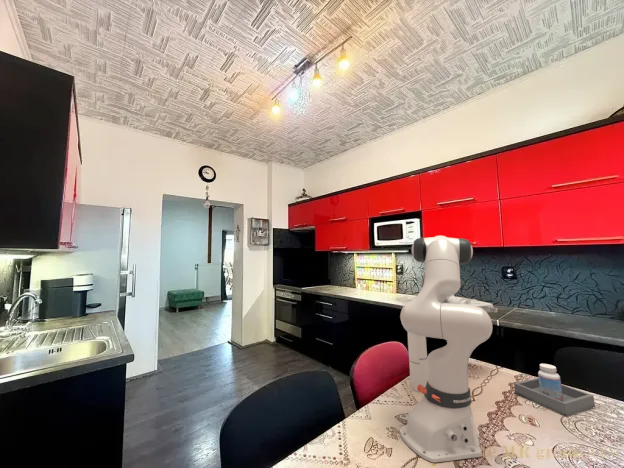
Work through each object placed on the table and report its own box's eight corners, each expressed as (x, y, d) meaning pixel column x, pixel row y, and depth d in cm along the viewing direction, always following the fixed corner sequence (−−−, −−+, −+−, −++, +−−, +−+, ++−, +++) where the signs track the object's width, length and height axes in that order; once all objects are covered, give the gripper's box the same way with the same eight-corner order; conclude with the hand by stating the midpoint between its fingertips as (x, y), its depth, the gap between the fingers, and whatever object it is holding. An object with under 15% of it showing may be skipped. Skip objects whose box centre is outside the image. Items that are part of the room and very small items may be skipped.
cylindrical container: (432, 392, 102) (427, 327, 105) (414, 392, 102) (410, 328, 105) (424, 383, 109) (420, 323, 112) (408, 384, 109) (404, 324, 112)
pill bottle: (567, 402, 91) (563, 369, 92) (548, 401, 92) (544, 368, 94) (554, 394, 97) (551, 363, 98) (536, 393, 98) (533, 362, 99)
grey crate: (566, 416, 85) (564, 404, 85) (515, 394, 100) (514, 383, 100) (595, 407, 90) (593, 395, 90) (542, 387, 105) (540, 376, 105)
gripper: (444, 301, 123) (470, 305, 109) (476, 298, 129) (504, 302, 116) (445, 314, 122) (471, 320, 109) (477, 311, 128) (505, 316, 115)
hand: (488, 311), depth 112 cm, fingers open, 8 cm apart
